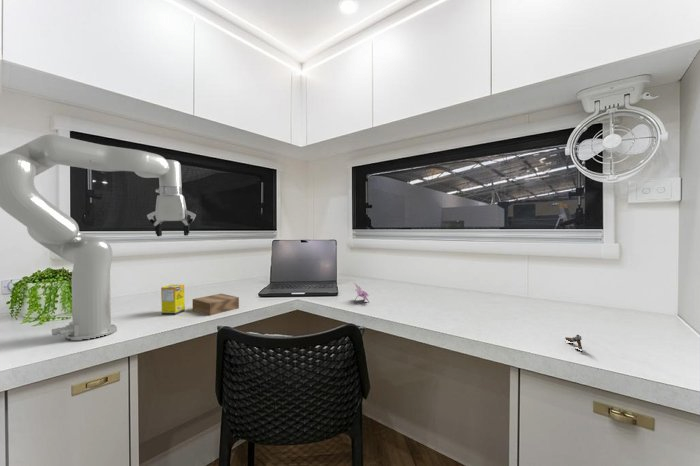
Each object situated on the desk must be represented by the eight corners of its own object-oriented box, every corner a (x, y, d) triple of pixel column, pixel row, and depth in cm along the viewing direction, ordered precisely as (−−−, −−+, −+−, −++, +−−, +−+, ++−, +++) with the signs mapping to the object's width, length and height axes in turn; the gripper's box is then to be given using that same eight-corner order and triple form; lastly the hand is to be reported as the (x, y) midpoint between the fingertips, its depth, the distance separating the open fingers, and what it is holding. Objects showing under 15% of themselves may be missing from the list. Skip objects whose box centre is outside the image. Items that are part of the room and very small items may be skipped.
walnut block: (210, 316, 121) (210, 303, 120) (192, 311, 128) (192, 299, 128) (238, 309, 131) (238, 297, 131) (221, 304, 139) (221, 293, 139)
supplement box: (185, 310, 127) (184, 284, 127) (175, 315, 121) (175, 287, 121) (171, 310, 127) (171, 284, 127) (161, 314, 121) (160, 287, 121)
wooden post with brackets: (578, 351, 85) (576, 334, 87) (567, 352, 92) (564, 336, 94) (586, 352, 84) (583, 334, 86) (574, 353, 92) (571, 337, 94)
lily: (368, 308, 135) (375, 289, 138) (345, 298, 136) (353, 280, 138) (365, 309, 146) (372, 292, 148) (344, 300, 147) (352, 283, 149)
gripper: (141, 191, 115) (144, 237, 116) (192, 191, 118) (193, 235, 119) (150, 192, 122) (152, 235, 123) (197, 193, 126) (199, 234, 127)
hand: (172, 235), depth 121 cm, fingers open, 9 cm apart
